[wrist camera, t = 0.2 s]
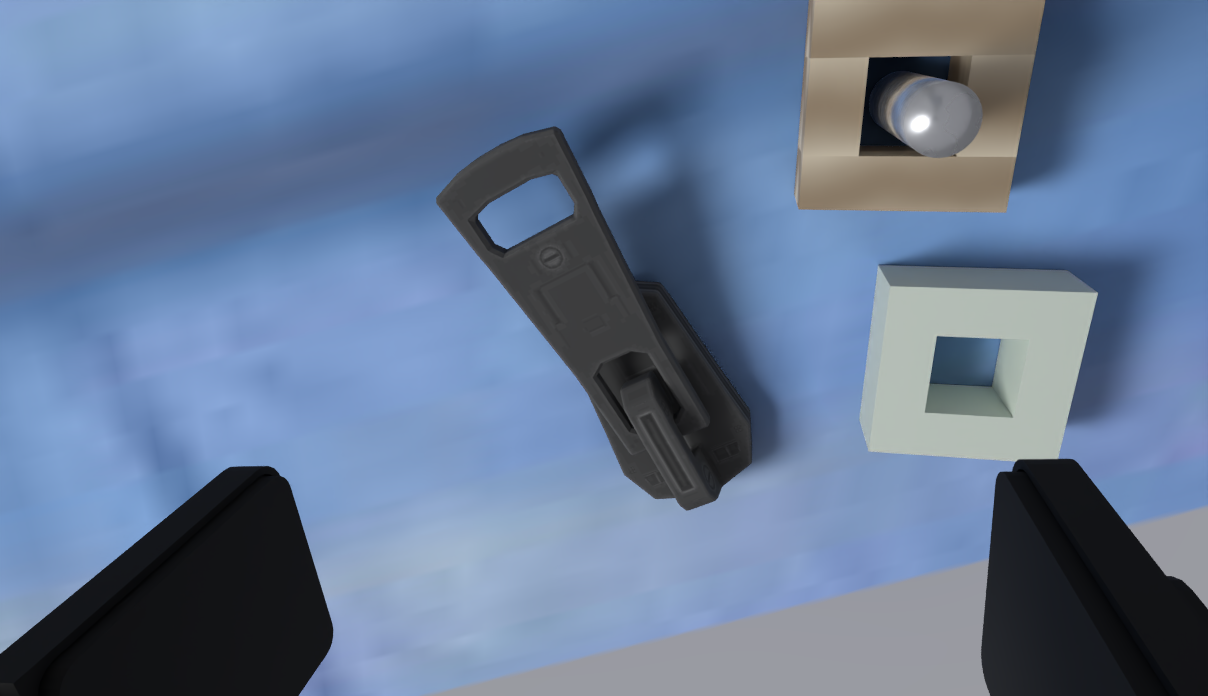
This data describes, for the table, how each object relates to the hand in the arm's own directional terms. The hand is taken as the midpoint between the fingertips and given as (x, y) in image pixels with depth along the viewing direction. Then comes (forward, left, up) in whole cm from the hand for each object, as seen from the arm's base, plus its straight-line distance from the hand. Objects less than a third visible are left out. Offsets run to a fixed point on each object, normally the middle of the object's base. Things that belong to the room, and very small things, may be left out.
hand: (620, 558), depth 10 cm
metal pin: (-3, +9, -36) cm, 37 cm away
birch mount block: (-3, +9, -36) cm, 37 cm away
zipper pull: (+10, -6, -36) cm, 38 cm away
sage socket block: (+11, +14, -36) cm, 40 cm away
